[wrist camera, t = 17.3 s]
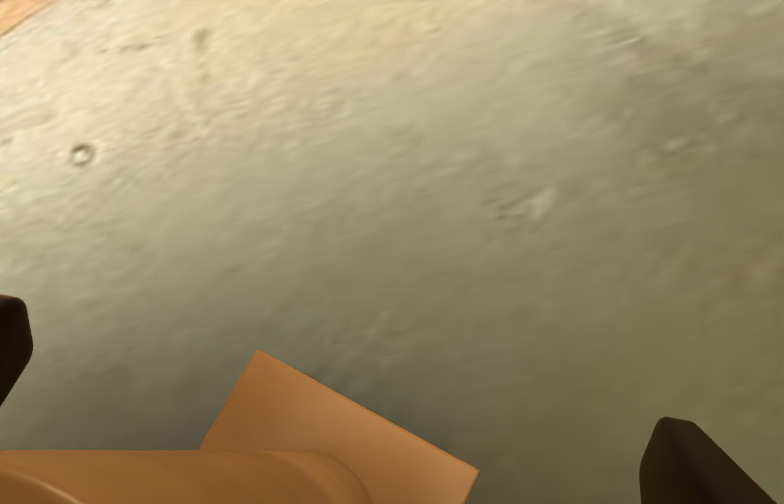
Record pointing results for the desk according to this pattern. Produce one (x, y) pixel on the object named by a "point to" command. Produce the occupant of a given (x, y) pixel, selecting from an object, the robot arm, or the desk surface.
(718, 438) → the desk surface
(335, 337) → the desk surface
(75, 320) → the desk surface
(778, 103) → the desk surface
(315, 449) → the brush
